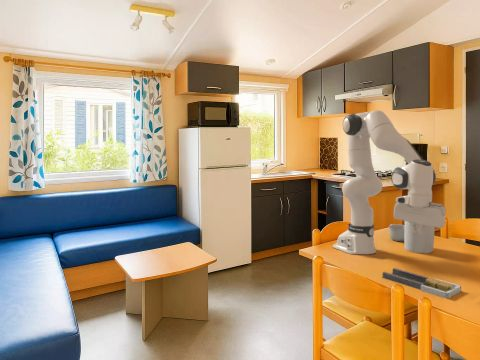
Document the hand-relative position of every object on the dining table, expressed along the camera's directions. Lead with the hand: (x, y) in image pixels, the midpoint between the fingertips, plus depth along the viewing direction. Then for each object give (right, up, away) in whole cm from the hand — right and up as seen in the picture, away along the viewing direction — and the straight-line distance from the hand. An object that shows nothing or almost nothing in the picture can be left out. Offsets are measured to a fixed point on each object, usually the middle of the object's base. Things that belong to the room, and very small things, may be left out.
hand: (417, 233), depth 157 cm
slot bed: (-4, -20, +1) cm, 21 cm away
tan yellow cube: (+2, -20, -7) cm, 22 cm away
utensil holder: (+22, -15, +46) cm, 53 cm away
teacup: (+19, -13, +66) cm, 70 cm away
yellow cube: (+5, -21, -11) cm, 24 cm away
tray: (+5, -21, -10) cm, 24 cm away
